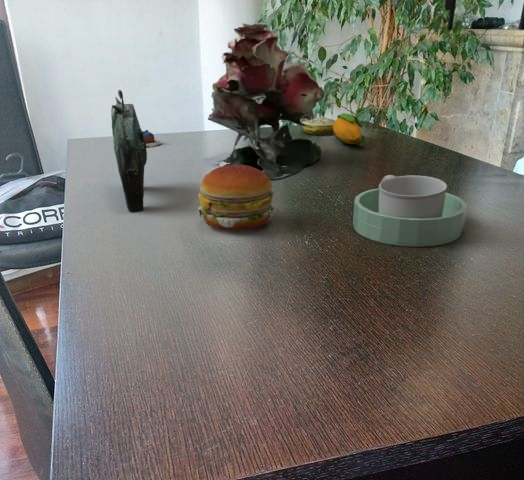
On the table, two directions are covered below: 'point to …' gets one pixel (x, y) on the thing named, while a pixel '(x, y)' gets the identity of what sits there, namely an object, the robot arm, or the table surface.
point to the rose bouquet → (265, 102)
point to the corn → (348, 129)
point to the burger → (236, 198)
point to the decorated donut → (319, 126)
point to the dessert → (150, 139)
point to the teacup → (412, 196)
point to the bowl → (408, 223)
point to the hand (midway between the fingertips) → (485, 29)
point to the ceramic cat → (129, 152)
